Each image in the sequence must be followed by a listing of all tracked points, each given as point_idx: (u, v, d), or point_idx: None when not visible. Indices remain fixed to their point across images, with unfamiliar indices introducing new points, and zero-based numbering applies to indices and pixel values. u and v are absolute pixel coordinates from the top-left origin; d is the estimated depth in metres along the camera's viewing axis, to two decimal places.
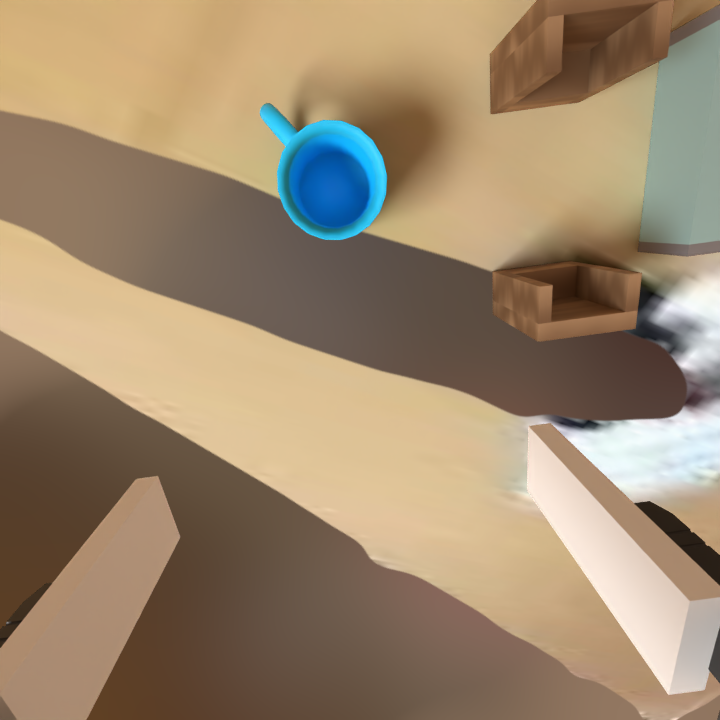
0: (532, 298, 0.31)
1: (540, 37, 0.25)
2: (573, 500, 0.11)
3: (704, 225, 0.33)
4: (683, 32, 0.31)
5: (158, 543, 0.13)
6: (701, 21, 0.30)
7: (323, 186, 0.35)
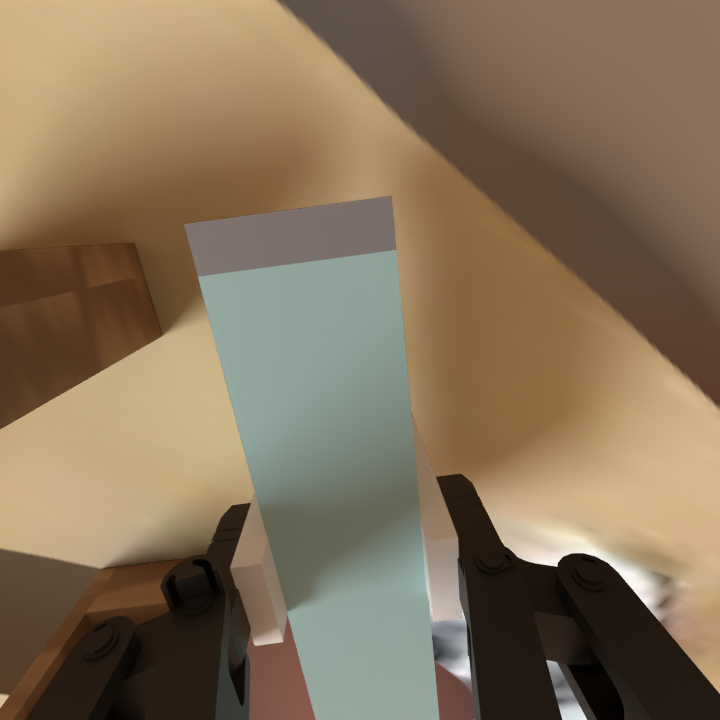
0: None
1: None
2: None
3: None
4: None
5: None
6: None
7: None
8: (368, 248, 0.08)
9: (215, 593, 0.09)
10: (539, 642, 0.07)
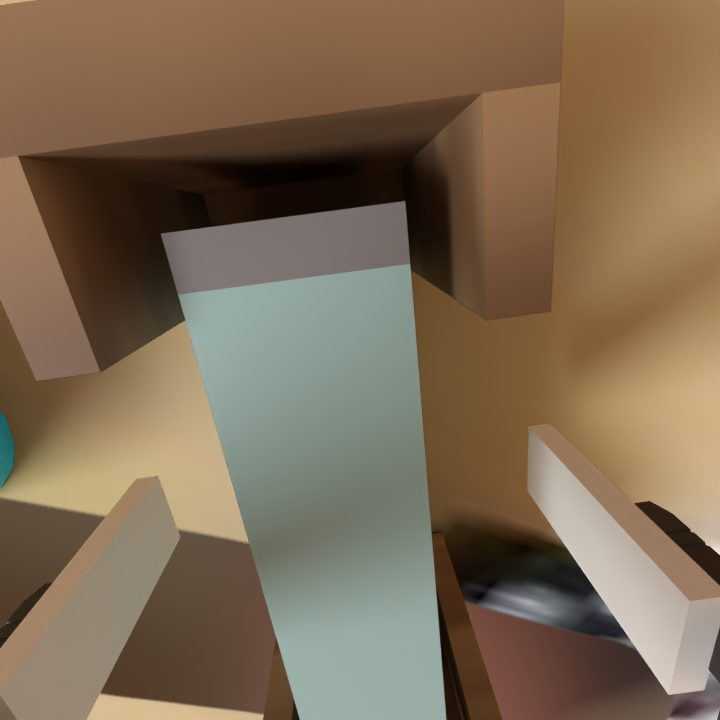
0: None
1: None
2: (573, 500, 0.11)
3: None
4: None
5: (158, 543, 0.13)
6: None
7: None
8: (377, 262, 0.07)
9: None
10: None
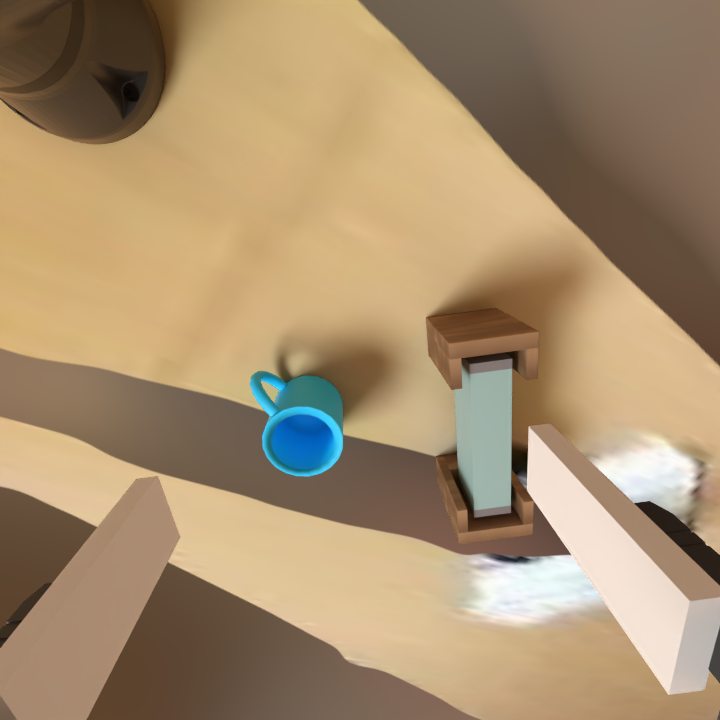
0: (455, 511, 0.42)
1: (447, 363, 0.36)
2: (573, 500, 0.11)
3: (484, 498, 0.41)
4: None
5: (158, 543, 0.13)
6: (463, 361, 0.38)
7: None
8: (506, 368, 0.36)
9: None
10: None
